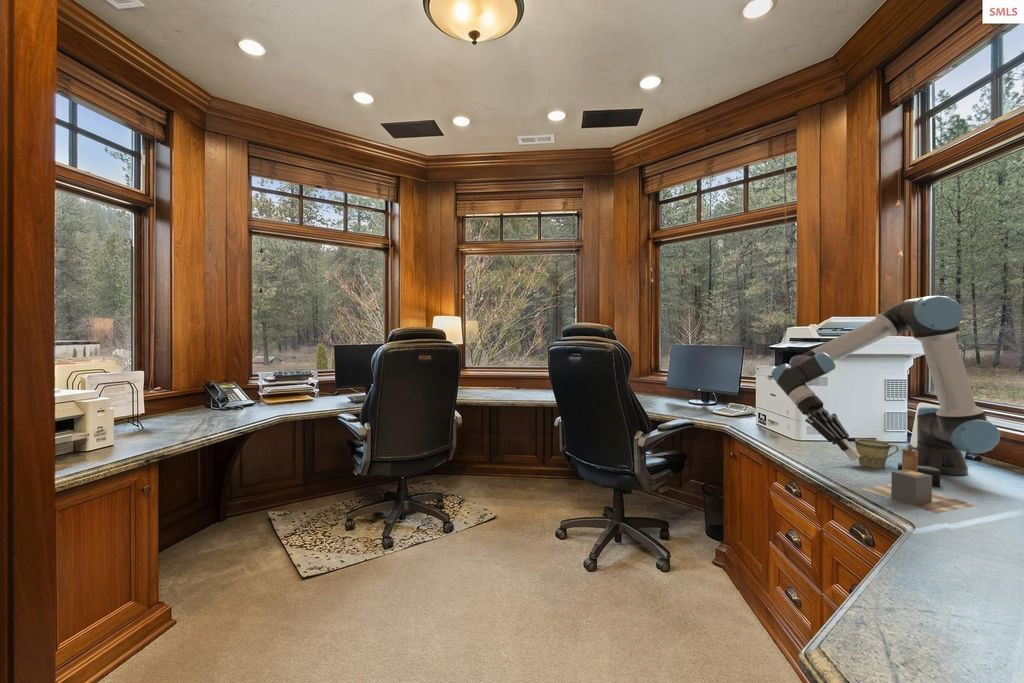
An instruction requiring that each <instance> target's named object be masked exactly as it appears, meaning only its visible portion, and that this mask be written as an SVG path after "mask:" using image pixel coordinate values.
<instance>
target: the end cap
mask: <svg viewBox="0 0 1024 683" xmlns="http://www.w3.org/2000/svg"><path fill="white" fill-rule="evenodd" d="M898 470H902V462H898V464H897V471H898ZM918 472H920V473H924V474H928V475H932V487H937V488H940V487H941V473H940V469H937V468H935V467H929V466H918Z"/></svg>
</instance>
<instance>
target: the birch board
mask: <svg viewBox="0 0 1024 683" xmlns="http://www.w3.org/2000/svg"><path fill="white" fill-rule="evenodd" d="M891 484H892V483H890V484H884V485H875V486H869V487H862V488H861V490H863V491H866V492H868V493H872V494H875V495H879V496H881V497H884V498H887V499H891V500H894V501H897V502H900V503H904V504H906V505H909V506H913V507H916V508H919V509H922V510H926V511H928V512H932V513H935V514H940V513H945V512H951V511H956V510H962V509H966V508H971V507H976V506H977V504H973V503H970V502H968V501H964V500H961V499H958V498H957V499H956V498H952V497H949V496H946V495H942V494H939V493H935V492H932V503H926V504H921V505H912V504H908V503H905V502H902V501H899V500H896V499H893V498H891Z"/></svg>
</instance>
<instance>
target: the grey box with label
mask: <svg viewBox="0 0 1024 683" xmlns="http://www.w3.org/2000/svg"><path fill="white" fill-rule="evenodd" d="M890 484H891V498H893V499H896V500H895V501H897V500H899V501H898V502H900V501H902V502H901V503H903V502H905V503H904V504H906V503H908V504H907V505H909V504H912V505H921V504H926V503H932V493H933V492H932V491H933V486H932V475H928V474H924V473H920V472H916V471H913V470H909V469H905V470H898V469H897V470H891V483H890ZM893 499H892V500H893ZM912 505H911V506H912Z"/></svg>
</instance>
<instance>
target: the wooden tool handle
mask: <svg viewBox="0 0 1024 683" xmlns="http://www.w3.org/2000/svg"><path fill="white" fill-rule="evenodd" d="M901 451H902V452H901V453H902V454H901V457H902V458H901V460H902V461H901V463H902V470H905V469H909V470H913V471H916V472H918V451H916V450H915V449H913V445H912V444H908V446H907V448H902V450H901Z"/></svg>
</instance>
